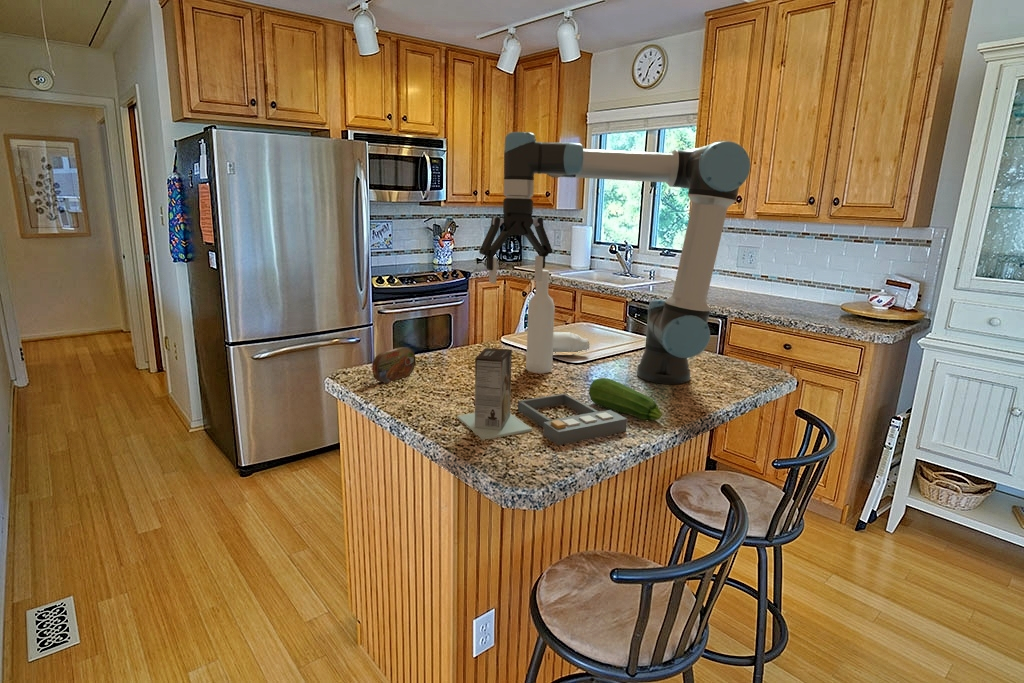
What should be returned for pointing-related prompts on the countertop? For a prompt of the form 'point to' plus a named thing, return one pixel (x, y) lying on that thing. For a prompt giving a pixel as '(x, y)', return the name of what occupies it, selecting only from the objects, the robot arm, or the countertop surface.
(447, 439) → the countertop surface
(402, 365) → the tin
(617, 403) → the vegetable
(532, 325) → the bottle
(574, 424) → the frame
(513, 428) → the sage mat
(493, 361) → the coffee box
